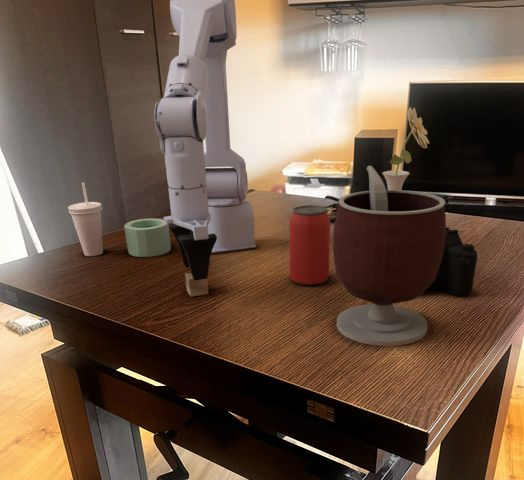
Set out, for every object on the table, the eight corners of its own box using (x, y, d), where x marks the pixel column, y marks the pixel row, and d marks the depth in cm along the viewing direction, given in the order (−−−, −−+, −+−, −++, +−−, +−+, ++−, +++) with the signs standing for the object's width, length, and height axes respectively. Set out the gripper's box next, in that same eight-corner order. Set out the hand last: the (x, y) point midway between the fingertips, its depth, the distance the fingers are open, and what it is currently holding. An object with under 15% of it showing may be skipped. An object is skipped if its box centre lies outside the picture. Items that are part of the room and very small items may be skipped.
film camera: (372, 276, 91) (375, 224, 87) (418, 267, 94) (423, 216, 90) (431, 307, 78) (438, 247, 74) (481, 295, 82) (491, 238, 78)
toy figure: (306, 229, 120) (365, 218, 124) (303, 200, 118) (364, 190, 122) (294, 225, 127) (351, 215, 130) (292, 198, 124) (349, 189, 128)
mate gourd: (451, 343, 68) (475, 182, 59) (347, 353, 67) (354, 190, 57) (404, 298, 82) (418, 162, 72) (317, 306, 80) (319, 168, 71)
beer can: (302, 289, 87) (303, 215, 81) (282, 277, 92) (281, 207, 86) (336, 281, 89) (338, 209, 84) (315, 270, 94) (316, 202, 89)
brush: (204, 287, 89) (199, 234, 84) (208, 294, 86) (204, 239, 82) (186, 290, 88) (181, 237, 84) (190, 296, 85) (184, 242, 81)
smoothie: (100, 258, 105) (87, 185, 98) (71, 257, 106) (56, 185, 100) (115, 249, 110) (103, 179, 104) (86, 248, 112) (73, 179, 105)
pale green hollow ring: (167, 242, 113) (164, 216, 111) (174, 253, 106) (171, 226, 104) (126, 247, 111) (122, 221, 109) (130, 259, 104) (126, 231, 101)
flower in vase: (396, 255, 100) (409, 111, 89) (350, 244, 108) (356, 109, 96) (435, 241, 108) (451, 106, 96) (389, 231, 116) (399, 105, 104)
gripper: (153, 180, 84) (163, 262, 90) (169, 197, 72) (179, 291, 78) (196, 176, 86) (203, 257, 92) (219, 192, 74) (225, 284, 80)
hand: (195, 272), depth 85 cm, fingers open, 6 cm apart
